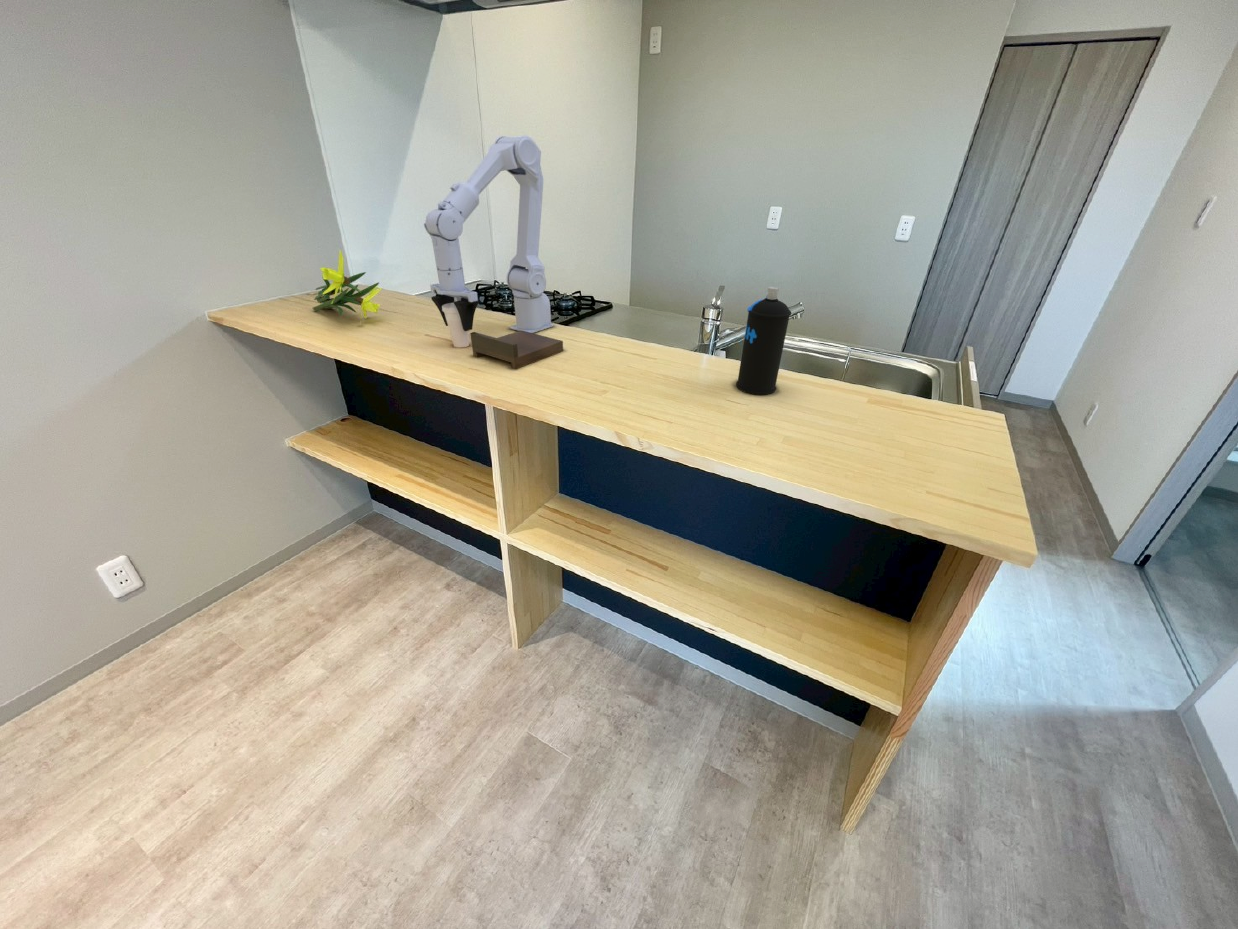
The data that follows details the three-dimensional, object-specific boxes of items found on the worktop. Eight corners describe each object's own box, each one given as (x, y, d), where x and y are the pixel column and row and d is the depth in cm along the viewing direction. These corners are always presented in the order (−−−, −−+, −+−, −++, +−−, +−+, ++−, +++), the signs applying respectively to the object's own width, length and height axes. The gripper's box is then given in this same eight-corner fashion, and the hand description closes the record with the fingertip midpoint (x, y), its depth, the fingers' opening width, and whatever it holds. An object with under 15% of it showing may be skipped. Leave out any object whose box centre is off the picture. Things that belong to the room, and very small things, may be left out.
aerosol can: (777, 383, 105) (797, 285, 94) (774, 397, 98) (795, 294, 87) (738, 377, 107) (753, 281, 96) (733, 391, 100) (748, 290, 90)
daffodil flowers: (362, 305, 156) (407, 292, 132) (330, 338, 151) (372, 331, 127) (314, 260, 146) (354, 237, 121) (278, 294, 141) (313, 277, 116)
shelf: (522, 339, 126) (520, 318, 124) (563, 350, 120) (562, 328, 117) (473, 356, 115) (470, 332, 112) (515, 369, 109) (513, 345, 106)
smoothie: (478, 341, 124) (470, 284, 117) (469, 349, 119) (460, 290, 112) (454, 340, 125) (444, 283, 117) (443, 348, 119) (433, 288, 112)
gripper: (415, 266, 113) (426, 325, 120) (456, 275, 106) (465, 336, 113) (440, 262, 118) (449, 319, 125) (481, 270, 111) (488, 330, 118)
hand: (458, 327), depth 120 cm, fingers closed on smoothie, 6 cm apart
